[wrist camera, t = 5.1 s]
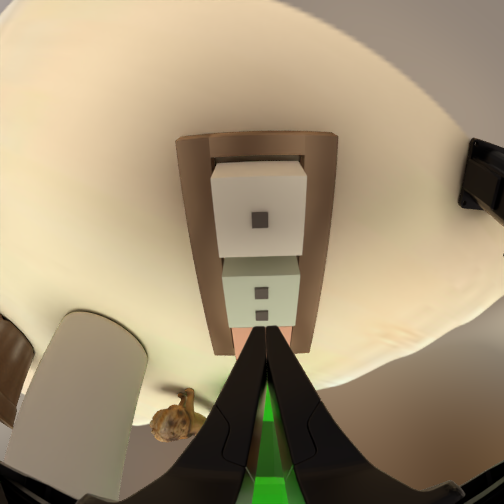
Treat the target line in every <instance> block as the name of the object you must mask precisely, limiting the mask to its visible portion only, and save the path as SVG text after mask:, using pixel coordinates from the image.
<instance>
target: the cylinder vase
mask: <svg viewBox="0 0 504 504" xmlns="http://www.w3.org/2000/svg"><path fill="white" fill-rule="evenodd" d="M146 367H147V355H146V353H145V350H144V349H143V347H142V345H141V344H140V343H139V342H138V340H137V339H136V338H135V337H134V336H133V335H132V334H130V333H129V332H128V331H127V330H125V329H124V328H123V327H121V326H120V325H118V324H116V323H115V322H113V321H111V320H109V319H107V318H105V317H102V316H100V315H97V314H93V313H89V312H73V313H70V314H68V315H66V316H65V317H64V318H63V319H62V321H61V323H60V324H59V326H58V328H57V330H56V332H55V334H54V335H53V337H52V339H51V341H50V343H49V345H48V347H47V349H46V351H45V353H44V355H43V357H42V359H41V361H40V363H39V365H38V367H37V370H36V372H35V374H34V376H33V378H32V381H31V383H30V385H29V388H28V390H27V392H26V395H25V397H24V400H23V402H22V405H21V408H20V411H19V413H18V416H17V419H16V422H15V424H14V427H13V430H12V434H11V437H10V440H9V443H8V447H7V451H6V454H5V458H4V463H5V464H7V465H9V466H11V467H13V468H15V469H17V470H19V471H21V472H23V473H25V474H27V475H29V476H31V477H34V478H36V479H38V480H40V481H42V482H44V483H46V484H48V485H51V486H53V487H55V488H57V489H59V490H61V491H63V492H65V493H67V494H69V495H71V496H73V497H75V498H77V499H80V498H82V497H83V496H84V495H85V494H87V493H89V494H93V495H97V496H100V497H104V498H108V499H112V500H116V501H118V498H119V491H120V484H121V478H122V472H123V467H124V461H125V456H126V451H127V446H128V441H129V436H130V431H131V427H132V423H133V418H134V414H135V410H136V406H137V401H138V397H139V393H140V389H141V386H142V382H143V378H144V374H145V371H146Z"/></svg>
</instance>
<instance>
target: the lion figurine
mask: <svg viewBox="0 0 504 504" xmlns="http://www.w3.org/2000/svg"><path fill="white" fill-rule="evenodd" d="M185 391H186V392H187V396H186V395H185V394H183V393H178V397H179V398H181V401H180V403H179V405H172V406H170V407H169V408H168V409H163V410H159V411H157V413H156V414H155V415H154V416H153V420H151V422H150V427H151V428H152V434H154V437H156V439H157V440H159V441H162V442H171V441H175V440H179V439H187V438H189V437H191V436H192V435H196V434H197V433H198V431H199V430H200V428H201V427H202V425H203V424H204V422H205V420H206V418H205V417H204V416H203V415H201V414H199V413H196V412H194V390H193V389H191V388H187V389H186V390H185Z"/></svg>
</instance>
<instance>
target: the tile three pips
mask: <svg viewBox="0 0 504 504" xmlns="http://www.w3.org/2000/svg"><path fill="white" fill-rule="evenodd" d="M252 328H253V327H247V328H232V334H233V341H234V348H235V355H236V361H237V359H238V357H239V355H240V353H241V351H242V349H243V347H244V345H245V343H246V341H247V339H248V336H249V334H250V332H251V330H252ZM265 329H266V327H265ZM279 329H280V330H281V332H282V334H283V336H284V337H285V339H286V341H287V342H288V344H289V346H290V341H291V332H292V326H281V327H279ZM266 358H267V354H266Z"/></svg>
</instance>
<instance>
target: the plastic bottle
mask: <svg viewBox="0 0 504 504" xmlns="http://www.w3.org/2000/svg"><path fill="white" fill-rule="evenodd" d="M254 484H255V485H254V492H253V499H252V504H288V498H287V493H286V487H285V481H284V476H283V470H282V464H281V459H280V453H279V447H278V442H277V436H276V430H275V424H274V418H273V413H272V407H271V401H270V395H269V389H268V384H267V390H266V399H265V408H264V416H263V425H262V433H261V441H260V449H259V456H258V464H257V471H256V478H255V483H254Z"/></svg>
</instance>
